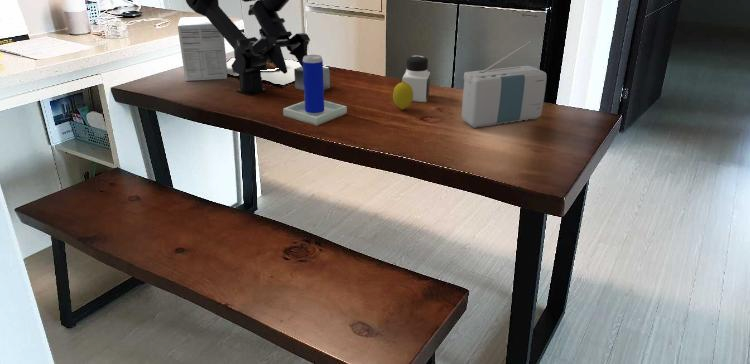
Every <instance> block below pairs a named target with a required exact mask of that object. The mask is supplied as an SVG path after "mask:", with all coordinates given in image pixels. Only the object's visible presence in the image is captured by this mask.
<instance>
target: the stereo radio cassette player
mask: <svg viewBox="0 0 750 364" xmlns="http://www.w3.org/2000/svg"><path fill="white" fill-rule="evenodd" d="M532 42H533V41H532V40H529V42H527V43H525V44H523V45H521V46H520V47H519V48H517V49H515V50H514V51H512V52H510V53H508V54H507V55H506V56H504V57H502V58H501V59H499V60H497V61H496V62H494V63H493V64H492V65H490V66H488V67H487V68H485V69H483V70H482V69H481V70H473V71H465V72H464V74H463V80H464V81H463V92H462V93H463V94H462V104H461V118H462V120H463V121H464V122H465V123H466V124H468V125H469V126H470V127H472V128H473V129H476V128H481V127H489V126H495V125H496V124H497V125H503V124H502V123H504V124H509V123H508V122H511V123H516V122H515V121H518V122H523V121H522V120H525V121H529V120H528V119H531V120H532V119H534V120H537V118H541V116H542V111H543V106H544V101H545V95H546V94H545V93H546V86H547V72H545V71H543V70H540V69H539V68H538V67H535V66H531V65H521V66H509V67H503V68H502V67H501V68H494V67H495V66H496V65H498V64H499V63H501V62H503V61H504V60H506V59H507V58H509V57H510V56H512V55H513V54H515V53H516V52H518V51H519V50H520V49H521V50H522V48H524V47H526V45H528V44H529V43H532ZM491 68H492V69H491ZM497 125H496V126H497Z"/></svg>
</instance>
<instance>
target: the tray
mask: <svg viewBox="0 0 750 364" xmlns="http://www.w3.org/2000/svg"><path fill="white" fill-rule="evenodd" d="M282 113H283V117H287V118H290V119H294V120H297V121H300V122H303V123H306V124H309V125H313V126H316V127H317V126H319V125H322V124H324V123H327V122H329V121H332V120H334V119H336V118H339V117H341V116H344V115H346V114H348V106H346V105H343V104H339V103H336V102H333V101H329V100H325V99H324V111H323V113H321V114H319V115H310V114H307V113H306V111H305V100H303V101H301V102H298V103H295V104H291V105H289V106H287V107H284V108H282Z"/></svg>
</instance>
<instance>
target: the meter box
mask: <svg viewBox="0 0 750 364" xmlns="http://www.w3.org/2000/svg"><path fill="white" fill-rule="evenodd" d="M293 72H294V89H298V90H299V91H300V90H301V91H304V79H303V67H302V66H299V67H296V68H294V71H293ZM330 74H331V73H330V68H329V67H324V66H323V86H324V91H325V90H328V89H330V88H331V75H330Z"/></svg>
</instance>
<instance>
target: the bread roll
mask: <svg viewBox="0 0 750 364" xmlns="http://www.w3.org/2000/svg"><path fill="white" fill-rule="evenodd" d="M275 68H278V67H277V66H276V65H274V64H273V63H272V62H271V61H270V60H269V59H267V63H266V69H265V70H267V69H275Z"/></svg>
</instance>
